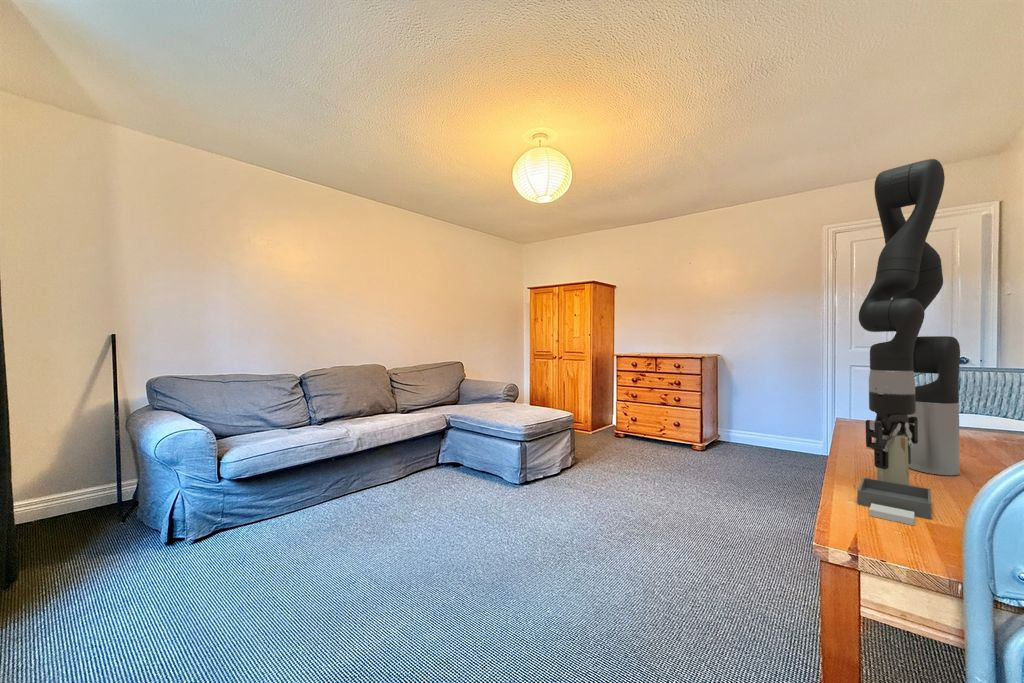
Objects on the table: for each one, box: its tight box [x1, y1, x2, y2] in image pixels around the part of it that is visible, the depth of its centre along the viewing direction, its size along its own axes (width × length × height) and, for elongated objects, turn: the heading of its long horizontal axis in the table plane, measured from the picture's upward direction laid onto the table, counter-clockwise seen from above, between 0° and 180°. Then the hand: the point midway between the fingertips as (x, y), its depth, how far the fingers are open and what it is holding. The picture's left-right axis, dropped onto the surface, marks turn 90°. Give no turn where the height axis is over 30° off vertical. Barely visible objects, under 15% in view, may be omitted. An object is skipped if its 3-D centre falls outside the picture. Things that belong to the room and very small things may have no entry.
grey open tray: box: [857, 477, 932, 526], centre depth 81 cm, size 16×10×3 cm, turn 135°
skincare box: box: [876, 435, 910, 485], centre depth 91 cm, size 6×4×12 cm
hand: (892, 465), depth 90 cm, fingers closed on skincare box, 7 cm apart
